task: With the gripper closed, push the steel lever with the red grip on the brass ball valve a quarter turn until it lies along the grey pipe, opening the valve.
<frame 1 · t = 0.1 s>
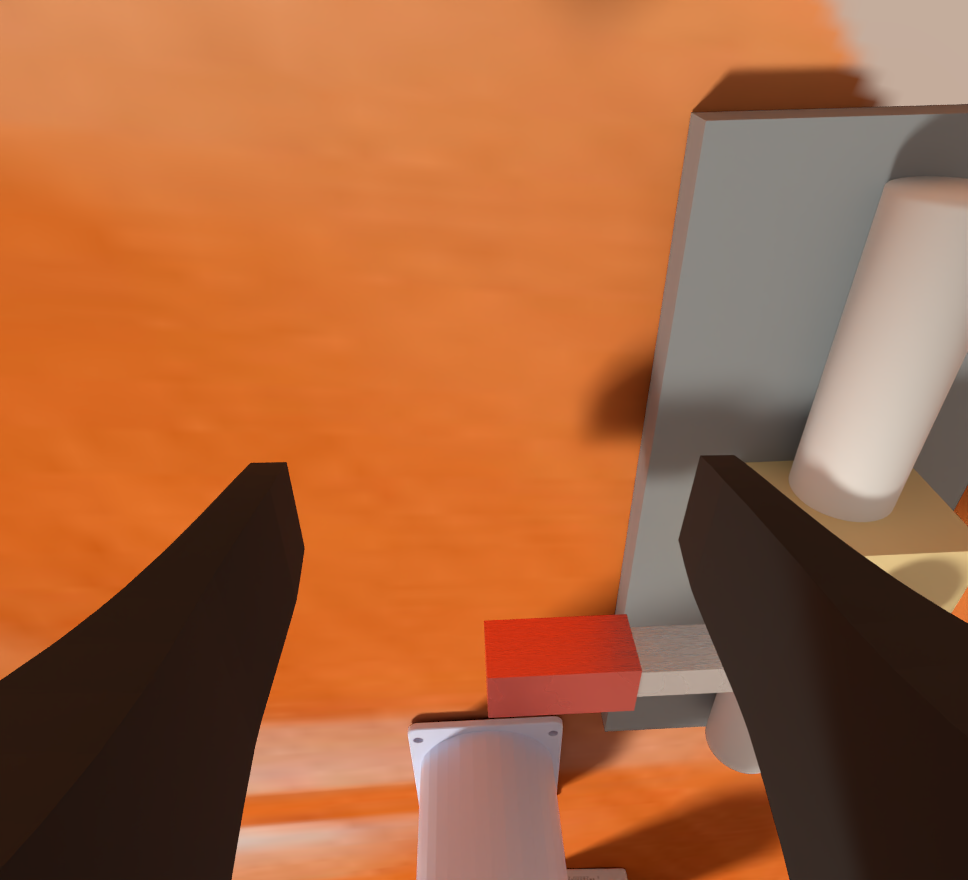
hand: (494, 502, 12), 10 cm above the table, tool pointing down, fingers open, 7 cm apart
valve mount: (782, 501, 25), on the table
valve lever: (705, 658, 20), point 7 cm above the table, hinge at 0.0°
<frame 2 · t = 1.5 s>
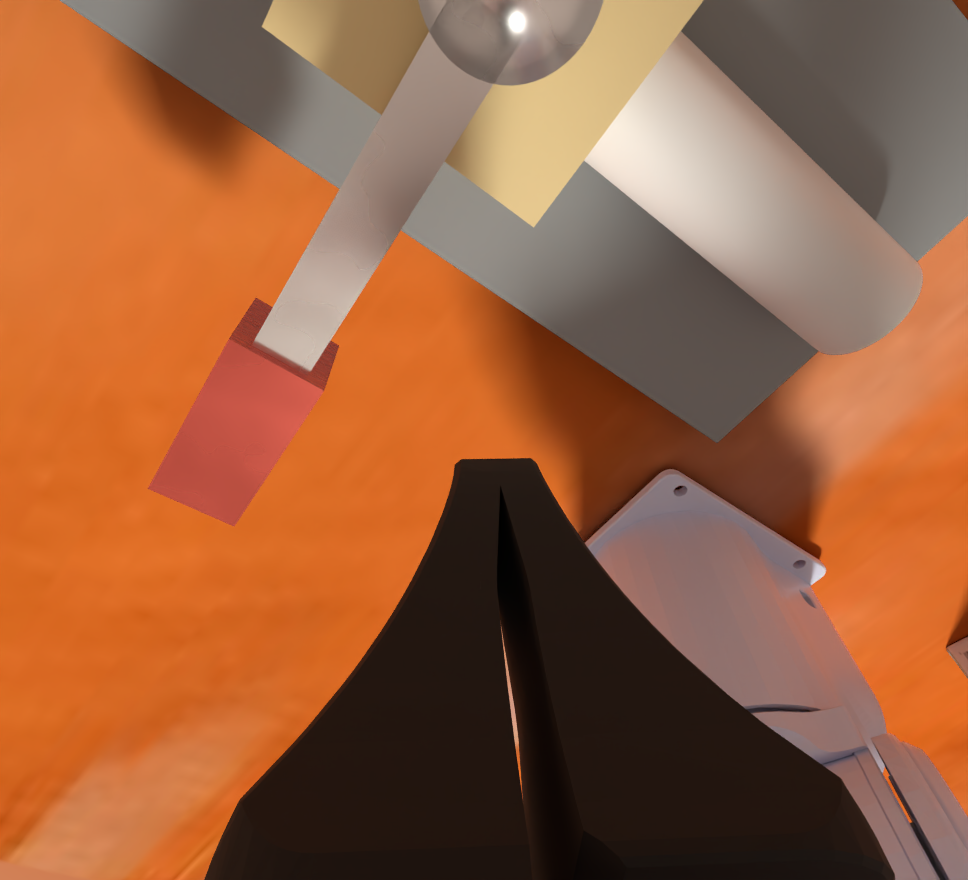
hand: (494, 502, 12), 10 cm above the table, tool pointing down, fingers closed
valve lever: (342, 253, 12), point 7 cm above the table, hinge at 0.0°
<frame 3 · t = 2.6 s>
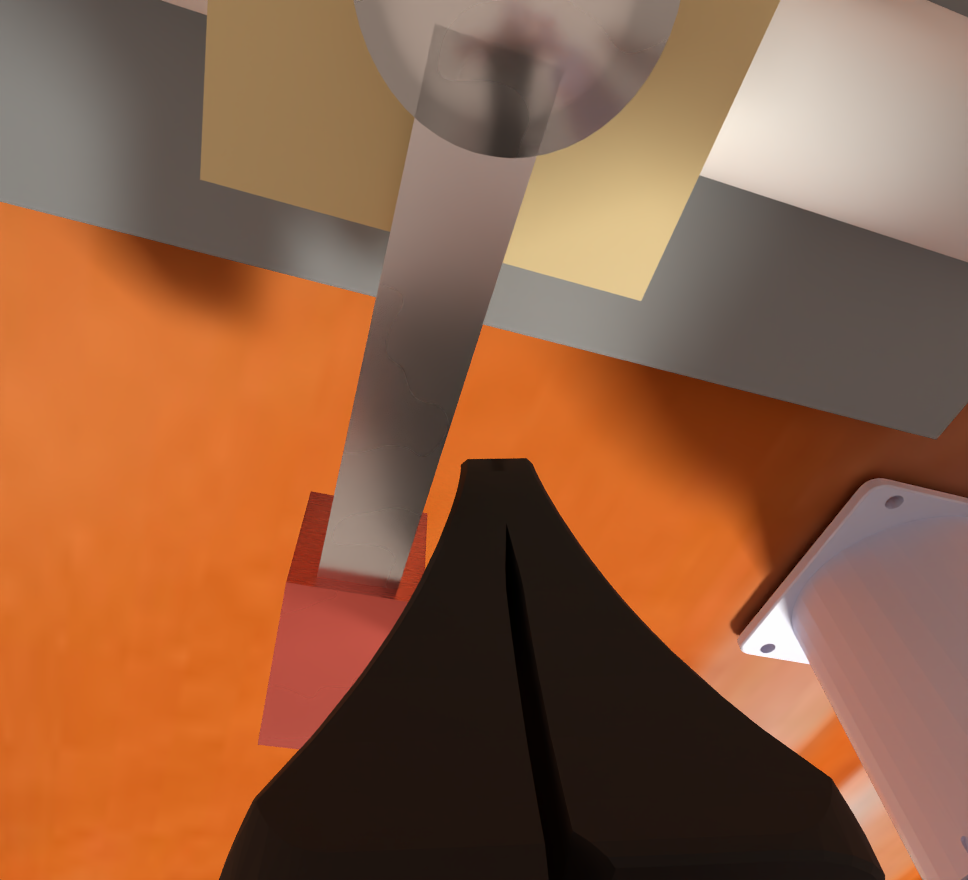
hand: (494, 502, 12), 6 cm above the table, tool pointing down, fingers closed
valve lever: (393, 429, 9), point 7 cm above the table, hinge at 0.0°, touching gripper
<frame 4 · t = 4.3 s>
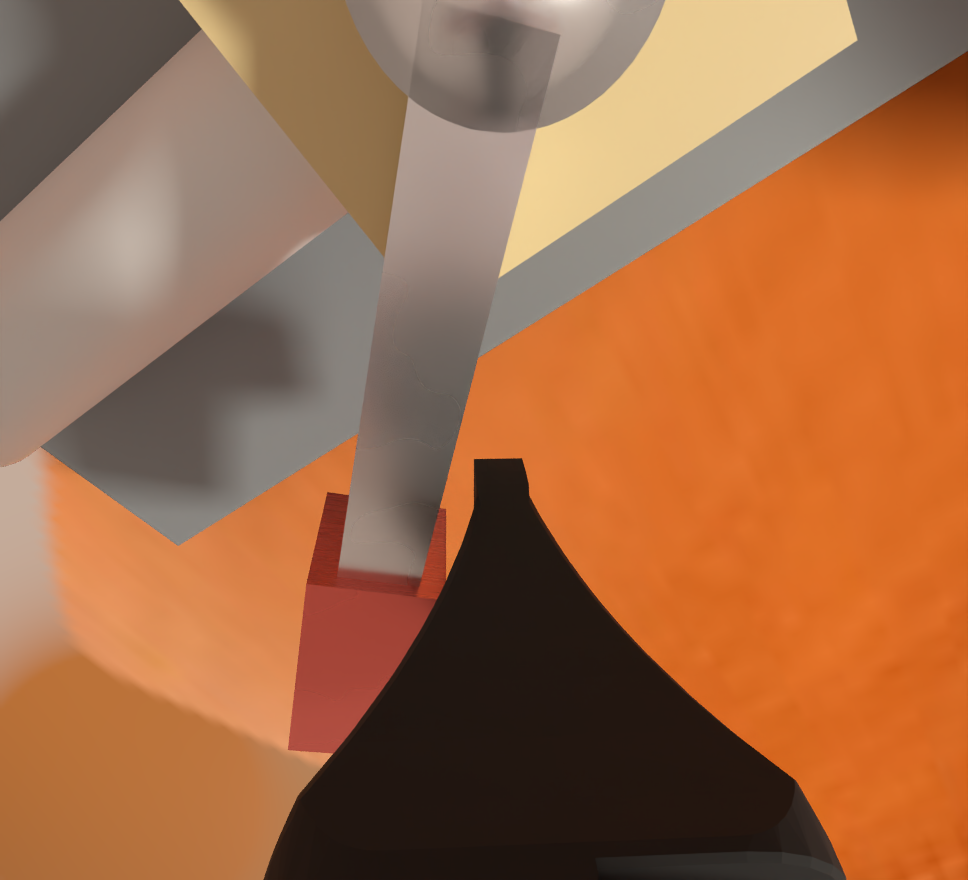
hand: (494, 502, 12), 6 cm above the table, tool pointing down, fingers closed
valve lever: (406, 423, 9), point 7 cm above the table, hinge at -47.3°, touching gripper
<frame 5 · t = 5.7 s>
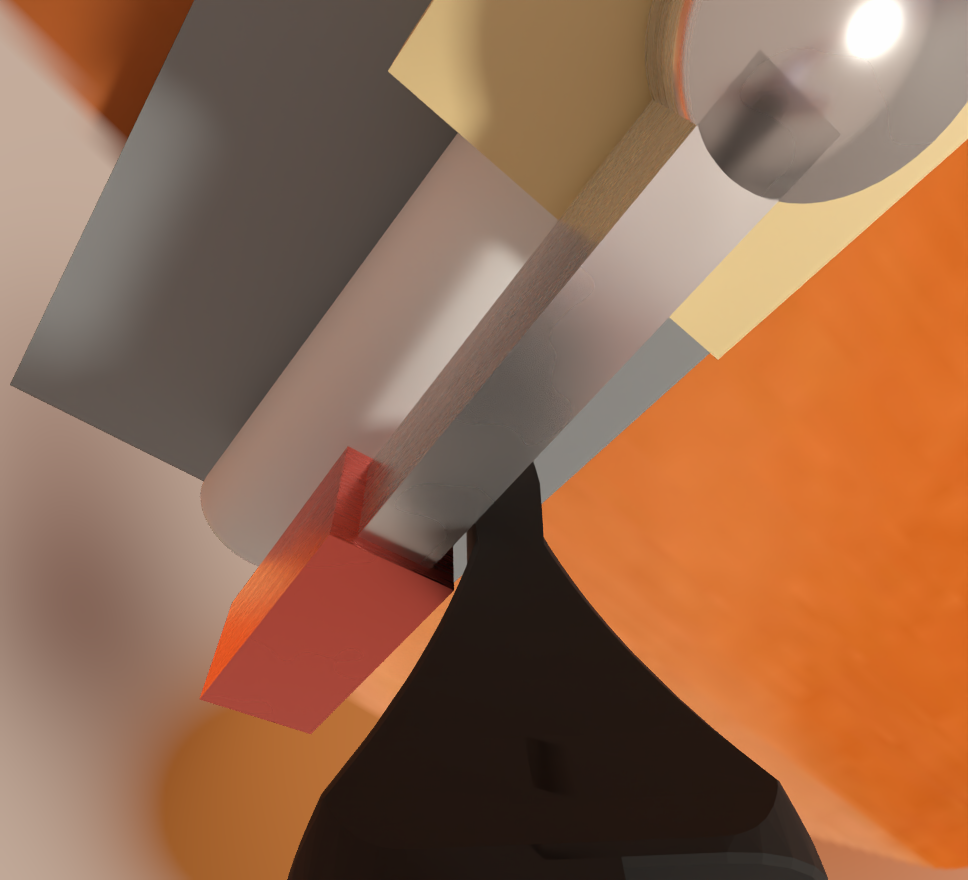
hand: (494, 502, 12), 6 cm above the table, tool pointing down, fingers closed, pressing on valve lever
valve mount: (636, 8, 12), on the table
valve lever: (488, 408, 9), point 7 cm above the table, hinge at -86.6°, touching gripper
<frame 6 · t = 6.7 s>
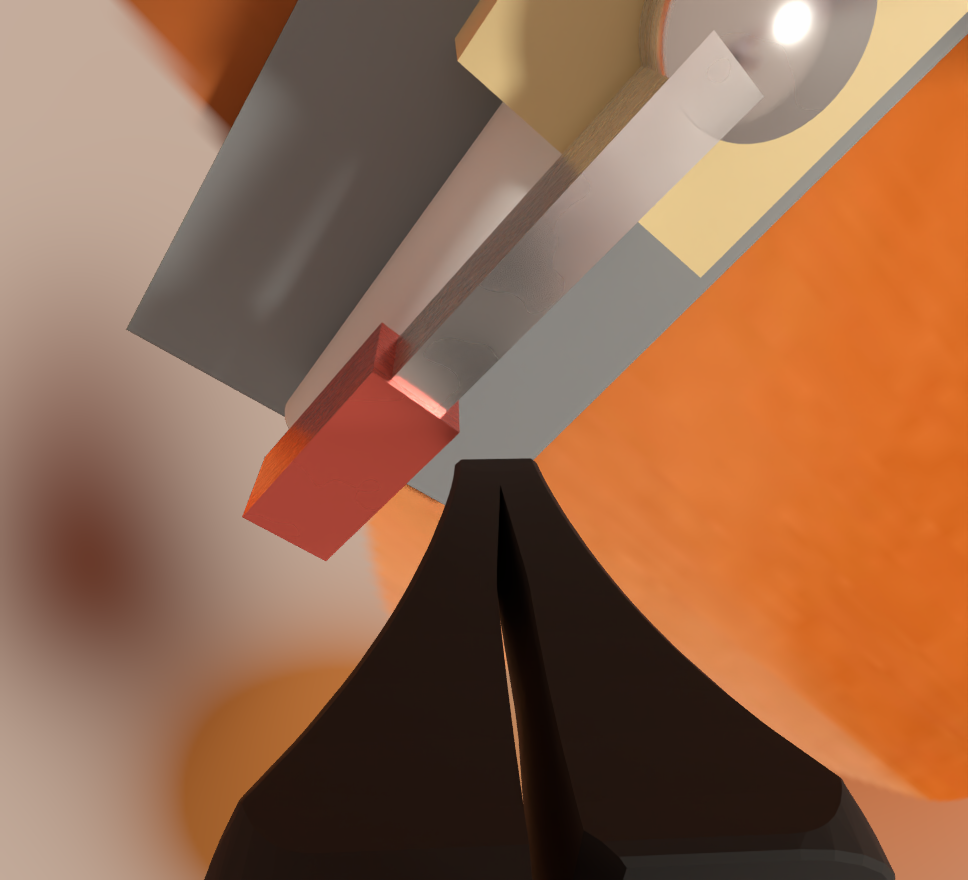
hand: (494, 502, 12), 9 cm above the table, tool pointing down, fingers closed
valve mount: (635, 9, 15), on the table
valve lever: (500, 290, 12), point 7 cm above the table, hinge at -93.6°
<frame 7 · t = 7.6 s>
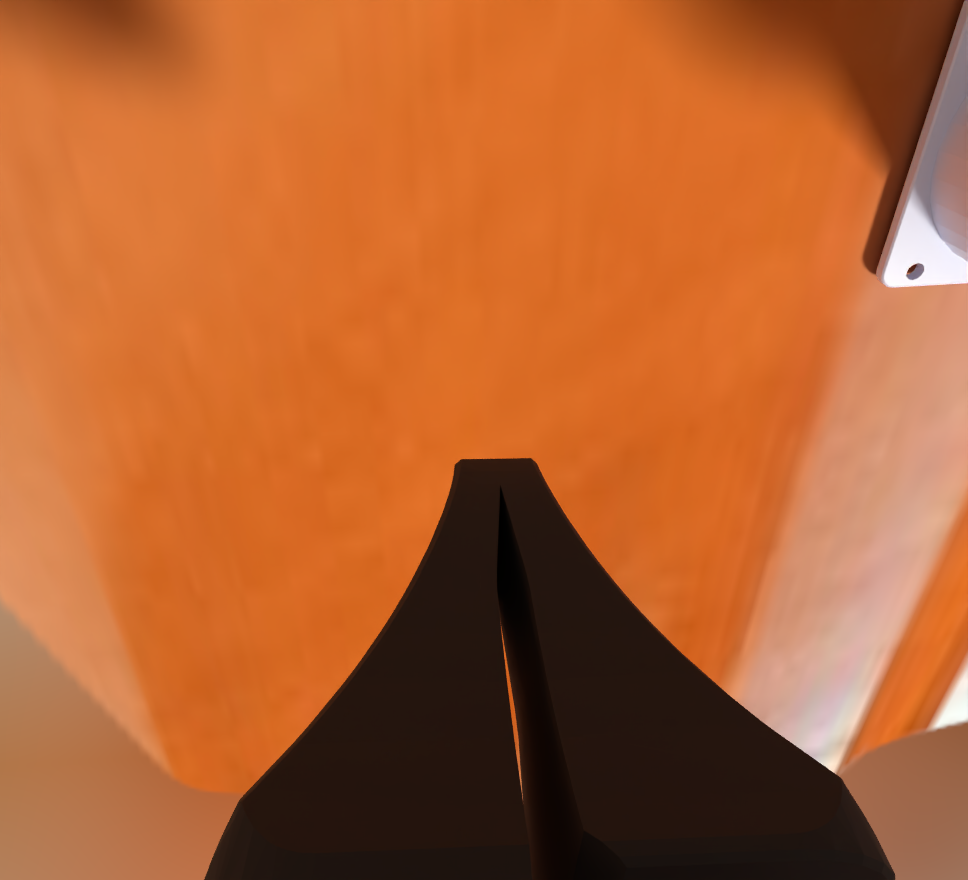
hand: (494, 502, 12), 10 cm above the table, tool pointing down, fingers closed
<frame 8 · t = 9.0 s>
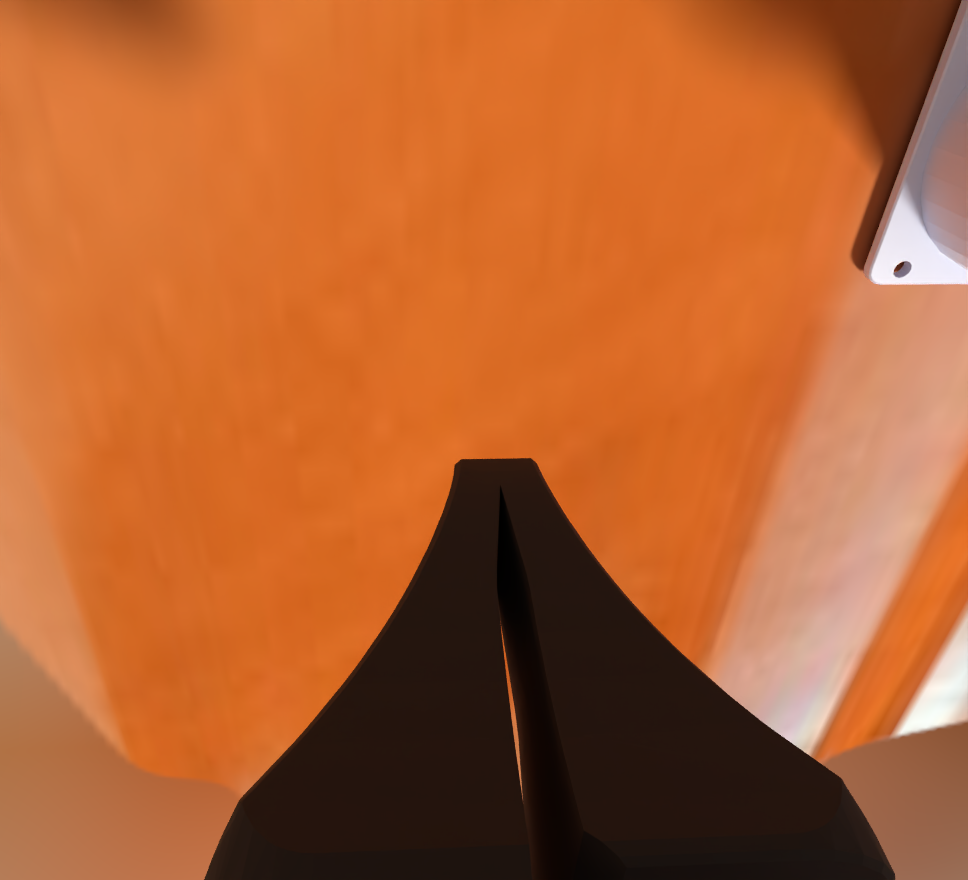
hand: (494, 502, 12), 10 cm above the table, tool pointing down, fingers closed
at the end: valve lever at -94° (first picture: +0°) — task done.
